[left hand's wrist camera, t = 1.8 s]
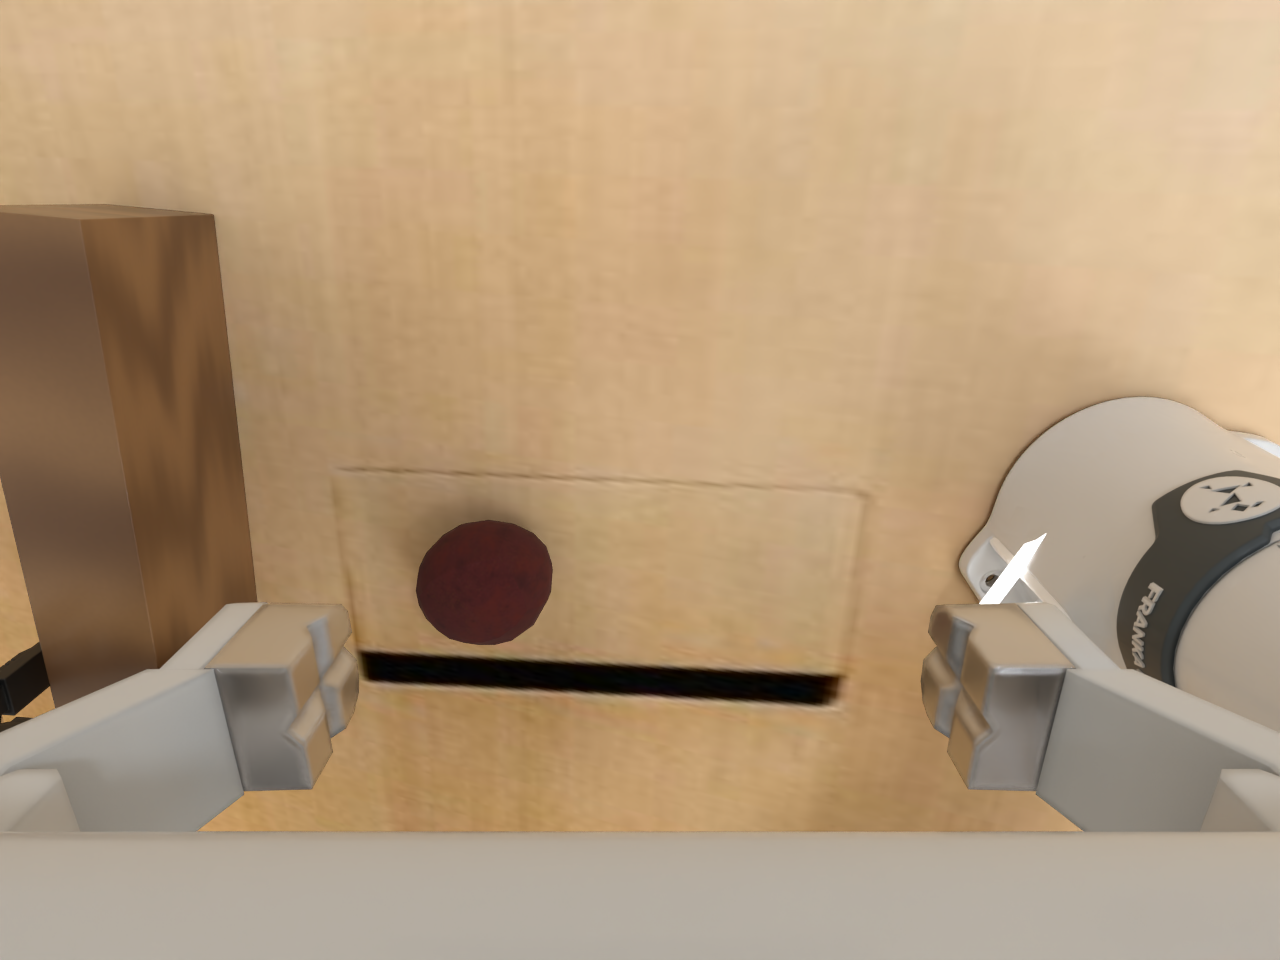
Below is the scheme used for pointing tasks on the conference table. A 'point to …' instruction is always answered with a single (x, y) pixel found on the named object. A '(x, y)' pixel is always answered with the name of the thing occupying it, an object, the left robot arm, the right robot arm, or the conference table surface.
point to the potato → (484, 582)
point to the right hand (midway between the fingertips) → (137, 659)
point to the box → (118, 435)
